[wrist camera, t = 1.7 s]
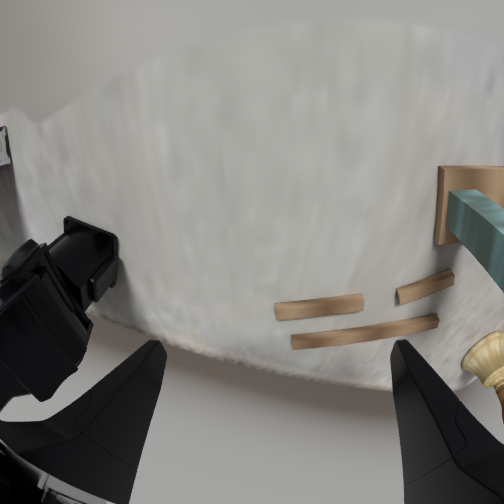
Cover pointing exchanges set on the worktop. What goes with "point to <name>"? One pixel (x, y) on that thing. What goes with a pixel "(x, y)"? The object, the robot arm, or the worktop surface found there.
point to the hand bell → (488, 363)
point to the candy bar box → (4, 148)
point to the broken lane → (357, 304)
